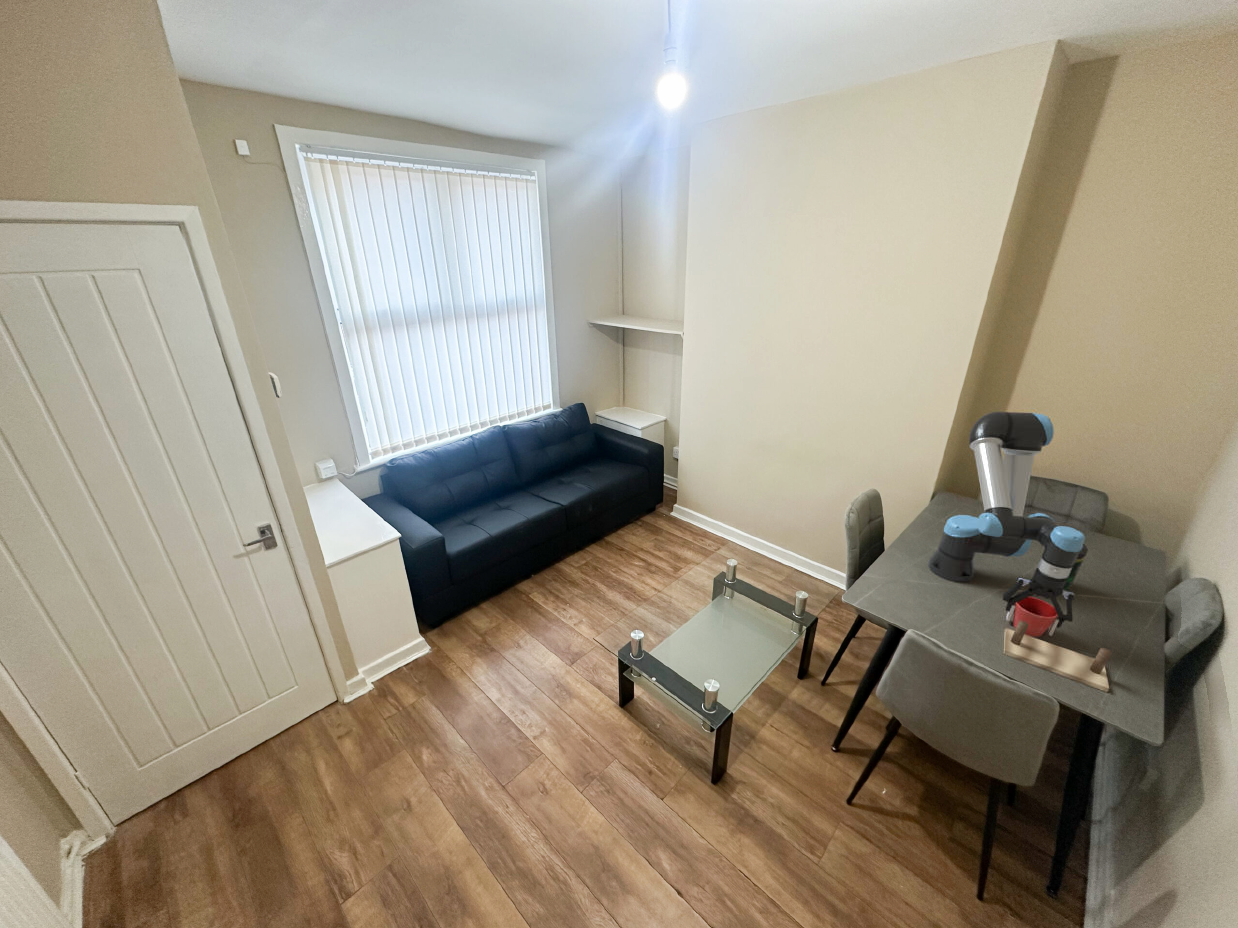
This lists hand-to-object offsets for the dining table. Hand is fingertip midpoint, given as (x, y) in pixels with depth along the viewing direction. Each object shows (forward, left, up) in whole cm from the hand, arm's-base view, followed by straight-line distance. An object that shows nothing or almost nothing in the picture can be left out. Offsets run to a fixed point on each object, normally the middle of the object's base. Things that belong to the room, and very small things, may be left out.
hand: (1028, 625), depth 159 cm
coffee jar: (+9, +35, -2) cm, 36 cm away
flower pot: (0, 0, -2) cm, 2 cm away
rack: (+6, -12, -1) cm, 13 cm away
